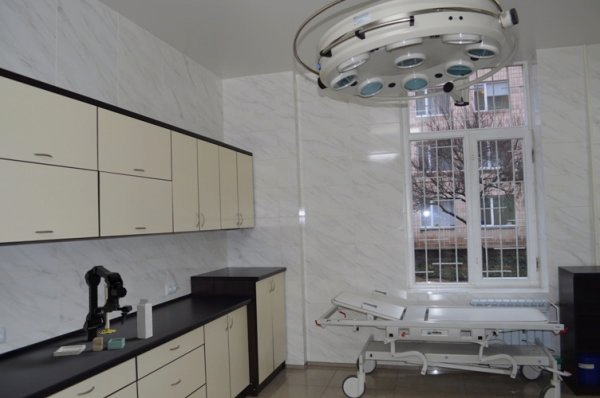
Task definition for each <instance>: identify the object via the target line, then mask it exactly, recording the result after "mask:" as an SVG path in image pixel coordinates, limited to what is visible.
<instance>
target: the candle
mask: <svg viewBox="0 0 600 398" xmlns="http://www.w3.org/2000/svg"><path fill="white" fill-rule="evenodd" d="M106 286H107V284H106V283H105V282H104V283H103V287H104V289H103V290H104V305H105V304H106V300H107V299H108V296H107V288H106ZM101 331H102V332H101V333H100V331H99V332H98V334H99V333H100V334H99V335H107V334H106V333H109V334H113V333H115V332H116V331H117V330H116V329H110V313H109V312H107V323H106V326H105V325H104V329H103V330H101ZM103 331H104V332H103ZM112 332H113V333H112Z"/></svg>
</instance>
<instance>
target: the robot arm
mask: <svg viewBox="0 0 600 398" xmlns="http://www.w3.org/2000/svg"><path fill="white" fill-rule="evenodd" d="M102 278H103V279H104V280H103V282H104V284H105V283H106V284H107V286H106V288H107V296H108V299H107V300H106V304H105V303H104V304H103V305H101V306H99V285H100V283H101V280H102ZM84 280H85V284H86V285H87V287H88V313H87V315H86V316H85V320H84V323H83V325H82V329H83V331H85V332H86V339H85V341H84V342H93V339H94V338H99V337H100V336H99V332H98V329H102V324H103V325H104V327H105V326H106V323H107V312H109V314H111V313H113V312H120V315H121V324H120V325H121V326H123V325H124V324H125V320H126V319H127V316H128V314H129V313H130V312H132V311H133V306H132V305H131V304H128V305H127V304H125V305H123V306H122V307H121V304H120V300H121V299H123V298H125V297H126V296H127V294H128V290H127V288H126V287H124V280H123V278H122V276H121V274H120V273H119V272H116V271H111V270H109V269H107V267H106V268H105V267H104V265H94V266H93V267H92V268H91V269H89V270H88V271H86V273H85V274H84Z"/></svg>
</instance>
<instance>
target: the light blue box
mask: <svg viewBox="0 0 600 398" xmlns="http://www.w3.org/2000/svg"><path fill="white" fill-rule="evenodd" d="M124 346H126V337H120V338H111V339H110V340H108V341H107V350H109V351H111V350H119V349H120V350H121V349H123V348H124Z"/></svg>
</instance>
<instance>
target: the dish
mask: <svg viewBox="0 0 600 398" xmlns="http://www.w3.org/2000/svg"><path fill="white" fill-rule="evenodd" d="M84 350H86V344H81V345H80V344H77V345H66V346H65V345H64V346H60V347H59V348H58V349H57V350H55V351H54V352H53V357H61V356H62V357H63V356H75V355H80V354H81V353H82V352H83V351H84Z"/></svg>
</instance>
